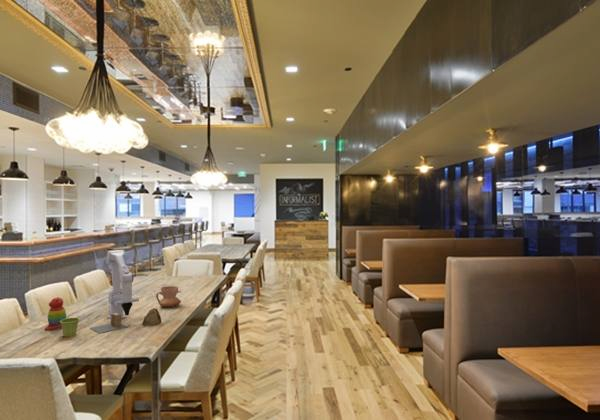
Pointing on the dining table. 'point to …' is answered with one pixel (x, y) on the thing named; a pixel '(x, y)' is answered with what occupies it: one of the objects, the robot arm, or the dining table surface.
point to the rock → (152, 317)
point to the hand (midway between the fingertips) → (126, 314)
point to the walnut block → (116, 320)
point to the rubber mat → (107, 328)
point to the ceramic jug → (169, 296)
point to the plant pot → (69, 326)
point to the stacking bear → (55, 314)
